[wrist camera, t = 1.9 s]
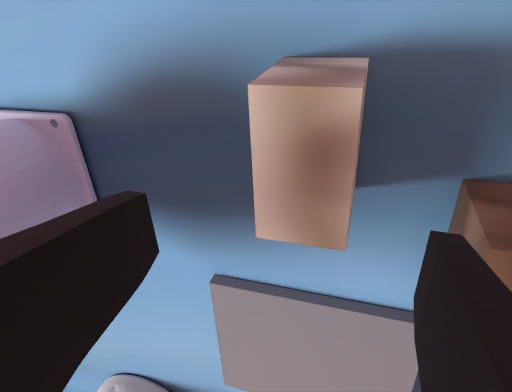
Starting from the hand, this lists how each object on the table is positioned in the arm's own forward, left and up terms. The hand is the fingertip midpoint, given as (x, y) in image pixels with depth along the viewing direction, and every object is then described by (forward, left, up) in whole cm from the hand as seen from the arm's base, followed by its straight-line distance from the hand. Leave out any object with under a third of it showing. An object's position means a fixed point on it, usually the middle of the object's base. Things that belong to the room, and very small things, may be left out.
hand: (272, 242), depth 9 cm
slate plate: (0, -16, -9) cm, 18 cm away
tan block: (0, 0, -9) cm, 9 cm away
